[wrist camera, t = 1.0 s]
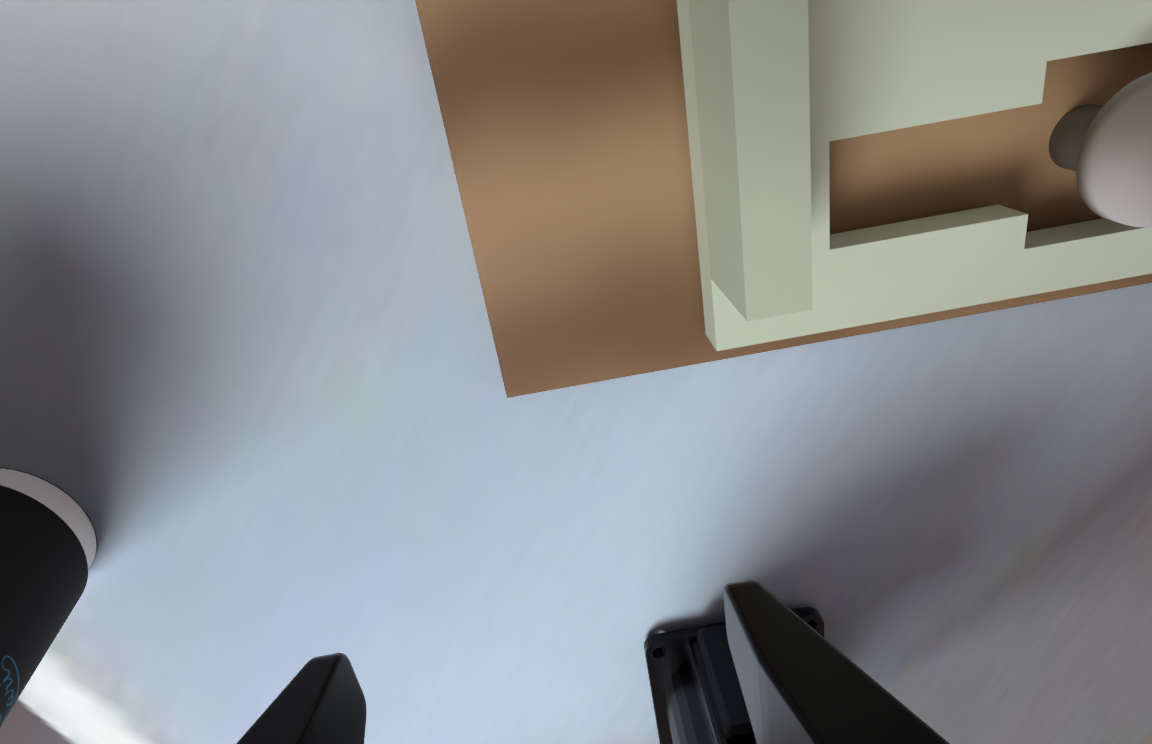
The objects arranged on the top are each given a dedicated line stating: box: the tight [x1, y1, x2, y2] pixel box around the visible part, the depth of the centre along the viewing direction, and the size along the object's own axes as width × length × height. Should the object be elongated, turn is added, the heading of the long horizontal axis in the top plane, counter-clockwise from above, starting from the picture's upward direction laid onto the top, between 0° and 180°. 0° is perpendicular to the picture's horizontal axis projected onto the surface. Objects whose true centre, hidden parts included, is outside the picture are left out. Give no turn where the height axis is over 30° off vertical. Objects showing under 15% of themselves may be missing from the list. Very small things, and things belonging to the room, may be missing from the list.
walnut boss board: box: [415, 0, 1152, 398], centre depth 16 cm, size 16×26×4 cm, turn 99°
